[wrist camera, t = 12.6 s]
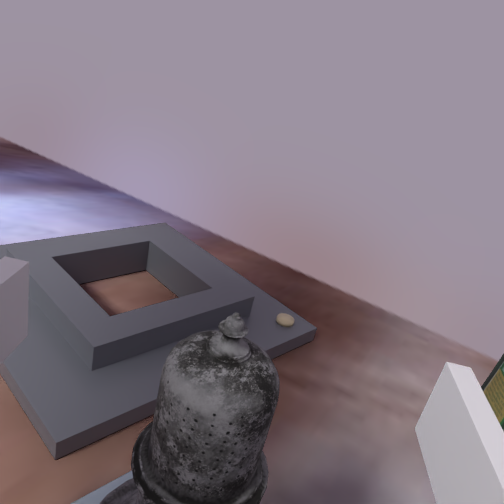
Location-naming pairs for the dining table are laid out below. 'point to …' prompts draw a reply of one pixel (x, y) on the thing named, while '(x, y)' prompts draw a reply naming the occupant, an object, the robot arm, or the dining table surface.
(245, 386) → the salt shaker
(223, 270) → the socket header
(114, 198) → the dining table surface
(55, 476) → the dining table surface
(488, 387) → the coffee jar
